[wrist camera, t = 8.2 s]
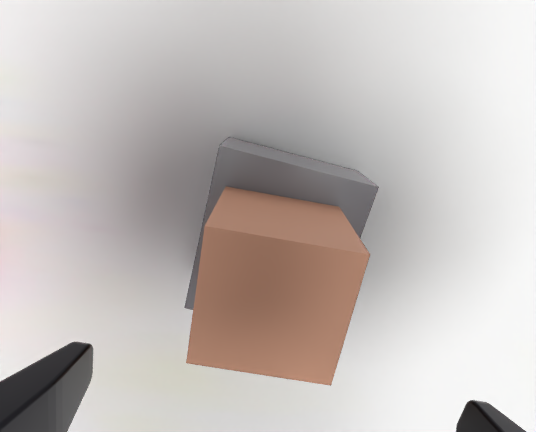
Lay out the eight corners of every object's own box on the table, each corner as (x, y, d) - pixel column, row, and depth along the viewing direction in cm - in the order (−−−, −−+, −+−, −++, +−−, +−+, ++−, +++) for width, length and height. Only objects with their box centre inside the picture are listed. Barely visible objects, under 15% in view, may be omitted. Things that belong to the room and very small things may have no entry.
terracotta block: (314, 305, 17) (330, 385, 12) (210, 287, 17) (186, 363, 12) (339, 206, 15) (370, 254, 10) (225, 186, 15) (204, 225, 10)
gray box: (313, 296, 21) (323, 339, 17) (199, 270, 21) (184, 307, 17) (356, 170, 19) (378, 187, 15) (229, 136, 18) (219, 145, 15)
